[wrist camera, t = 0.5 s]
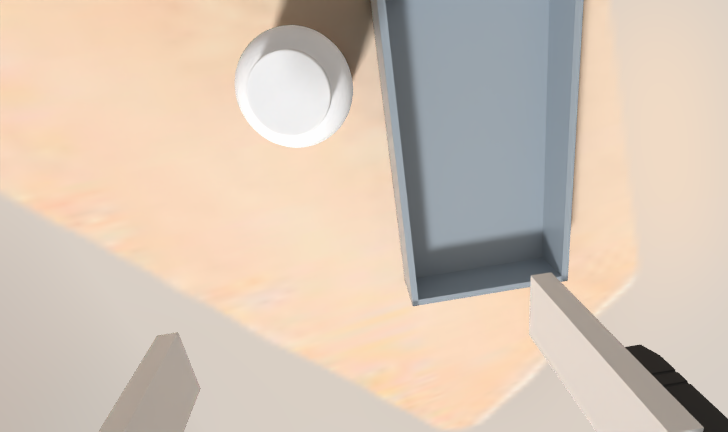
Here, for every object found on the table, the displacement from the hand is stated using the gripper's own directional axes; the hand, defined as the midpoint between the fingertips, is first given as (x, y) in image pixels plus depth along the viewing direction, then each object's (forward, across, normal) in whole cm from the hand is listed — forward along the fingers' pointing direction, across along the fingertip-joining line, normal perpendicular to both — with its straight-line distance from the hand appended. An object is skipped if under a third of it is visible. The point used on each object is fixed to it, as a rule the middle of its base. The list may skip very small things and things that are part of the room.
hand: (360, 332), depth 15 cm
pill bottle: (+25, -2, +8) cm, 26 cm away
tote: (+24, +12, 0) cm, 27 cm away
